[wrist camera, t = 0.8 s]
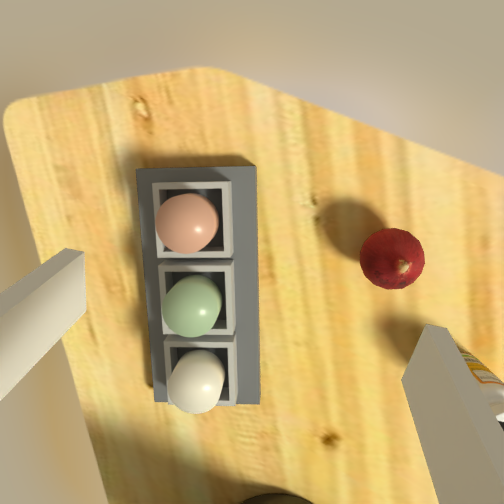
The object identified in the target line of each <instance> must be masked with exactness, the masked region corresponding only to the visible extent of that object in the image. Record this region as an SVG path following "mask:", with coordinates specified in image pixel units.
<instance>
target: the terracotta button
mask: <svg viewBox="0 0 504 504" xmlns="http://www.w3.org/2000/svg"><path fill="white" fill-rule="evenodd" d="M155 226H156V231H157V234H158V237H159V238H160V240H161V241H162V243H163V244H164V245H165V246H166V247H168V248H169V249H170V250H172V251H174V252H177V253H182V254H190V253H194V252H197V251H199V250H201V249H202V248H204V247H205V246H206V245H207V244H208V243H209V242H210V241H211V240H212V239H213V238H214V236H215V235H216V233H217V231H218V228H219V215H218V211H217V209H216V207H215V206H214V204H213V203H212V202H211V201H210V200H209V199H208V198H206V197H205V196H203V195H200V194H196V193H187V194H183V195H178V196H174V197H172V198H170V199H168V200H167V201H165V202H164V203H163V204H162V205H161V207H160V208H159V210H158V212H157V215H156V220H155Z"/></svg>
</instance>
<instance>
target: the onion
mask: <svg viewBox="0 0 504 504" xmlns="http://www.w3.org/2000/svg"><path fill="white" fill-rule="evenodd" d="M424 264H425V259H424V251H423V249H422V246H421V244H420V241H419V240H418V239H416V238H415V237H414V236H413V235H412V234H410V233H409V232H408V231H404V230H400V229H396V228H391V229H382V230H380V231H378V232H376V233H374V234H372V235H371V236H370V237H369V238H368V239H367V240H366V241H365V242H364V244H363V246H362V249H361V251H360V265H361V268H362V270H363V273H364V275H365V276H366V277H367V278H368V279H369V280H370V281H371V282H372V283H373V284H375V285H376V286H379V287H382V288H385V289H403V288H405V287H406V286H408V285H410V284H411V283H413V282H414V281H415V280H416V279H417V278H418V277H419V275H420V274H421V273H422V270H423V267H424Z"/></svg>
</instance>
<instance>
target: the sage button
mask: <svg viewBox="0 0 504 504" xmlns="http://www.w3.org/2000/svg"><path fill="white" fill-rule="evenodd" d="M221 307H222V295H221V292H220V289H219V288H218V286H217V285H216V284H215V283H214V282H213V281H212V280H211V279H209V278H207V277H205V276H202V275H189V276H186V277H184V278H182V279H181V280H179V281H178V282H177V283H176V284H175V285H174V287H173V288H172V289H171V290H170V291H169V292H168V293H167V294H166V296H165V297H164V300H163V303H162V316H163V319H164V321H165V323H166V325H167V326H168V327H169V328H170V329H171V330H172V331H173V332H175V333H176V334H178V335H181V336H184V337H198V336H201V335H204V334H205V333H207V332H208V331H209V330H210V329H211V328H212V327H213V325H214V324H215V322H216V319H217V317H218V315H219V312H220V310H221Z"/></svg>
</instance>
